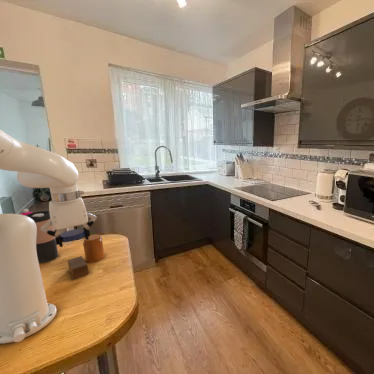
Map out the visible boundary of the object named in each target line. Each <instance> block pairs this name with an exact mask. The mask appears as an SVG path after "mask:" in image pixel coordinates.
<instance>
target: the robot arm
mask: <svg viewBox="0 0 374 374" xmlns="http://www.w3.org/2000/svg"><path fill="white" fill-rule="evenodd" d="M0 170H3V171H9V172H15V173H16V179H17V181H18V183H19V184H20V185H22V186H24V187H26V188H31V189H49V192H50V197H51V200H50V201H49V202H48V211H49V213H50V220H49V221H48V222H47V223H46V224H44V225H43V226H42V227H41V228H40V229H41V231H43V232H45V233H47V234H49V235H51V236H54V237H55V240H56V244H57V246H59V247H60V248H63V247H64V245H63V241H62V239H61V236H60V235H61V232H62V230H65V229H70V228H74V227H78V226H83V228H82V229H83V230H84V231H85V236H84V237H83V238H85V239H86V240H89V236H90V235H91V233H90V229H91V227H92V226H93V225H94V223H95V222H96V221H97V220H98V216H97V215H95V214H92V213H89V212H88V211H87V209H86V204H85V202H84V200H83V198H82V197H81V196H82V195H84V194H85V191H84V190H79V186H78V181H79V178H80V177H79V176H80V175H79V172H78V169H77V168H76V167H75V164H74V163H73V162H72V161H69V160H68V159H66V158H65V157H63V156H62V155H61V154H58V153H55V152H53V151H50V150H48V149H44V148H42V147H38V146H35V145H33V144H29V143H27V142H23V141H20V140H18V139H16V138H14V137H13V136H11V135H10V134H8V133H6V132H5V131H4V130H2V129H0ZM20 214H21V213H20ZM20 214H19V213H0V344H9V343H10V344H11V343H20V342H21V341H24V339H25V338H27V337H30V336H32V335H34V334H36V333H38V332H39V331H41V330H43V328H45V327H46V326H48V325H49V324H50V323H51V322H52V321H53V320H54V319H55V316H56V315H57V313H58V310H57V306H56V305H55V304H54V303H49V302H48V300H47V295H46V294H47V293H46V291H45V286H44V281H43V275H42V271H41V267H40V263H39V262H38V257H37V251H36V236H37V227H36V224H35V222H34V221H33V220H32V219H31V218H30V217H27V216H25V215H20ZM89 218H90V220H89ZM50 225H52V227H53V228H54V231H52V230H49V229H48V227H49V226H50Z"/></svg>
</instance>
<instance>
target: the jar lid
mask: <svg viewBox="0 0 374 374" xmlns="http://www.w3.org/2000/svg"><path fill="white" fill-rule="evenodd" d="M83 229H84V228H78V229H77V228H75V229H70V230H67V231H64V232H62V233H60V234H59V235H60V236H61V239H62V243H69V242H75V241H78V240H81V239H84V238H85V237H84V236H85V231H84V230H83Z"/></svg>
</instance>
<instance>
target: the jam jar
mask: <svg viewBox="0 0 374 374" xmlns="http://www.w3.org/2000/svg"><path fill="white" fill-rule="evenodd" d="M82 245H83V252H84V257H85V262H86V263H93V262H95V263H96V262H98V261H101V260H103V259H104V258H105V250H104V249H105V248H104V241H103V238H102V235H101V234H95V233H94V234H90V236H89V240H86V239H85V237H83V242H82Z"/></svg>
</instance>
